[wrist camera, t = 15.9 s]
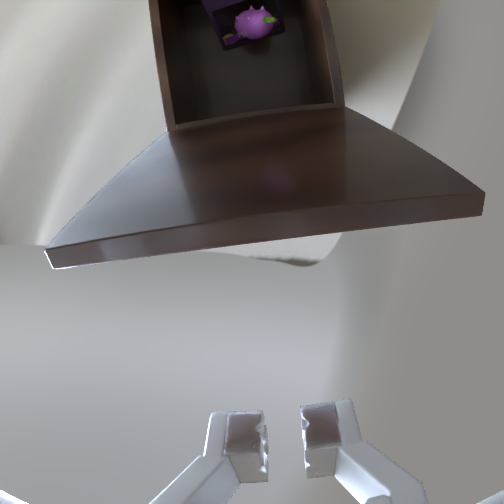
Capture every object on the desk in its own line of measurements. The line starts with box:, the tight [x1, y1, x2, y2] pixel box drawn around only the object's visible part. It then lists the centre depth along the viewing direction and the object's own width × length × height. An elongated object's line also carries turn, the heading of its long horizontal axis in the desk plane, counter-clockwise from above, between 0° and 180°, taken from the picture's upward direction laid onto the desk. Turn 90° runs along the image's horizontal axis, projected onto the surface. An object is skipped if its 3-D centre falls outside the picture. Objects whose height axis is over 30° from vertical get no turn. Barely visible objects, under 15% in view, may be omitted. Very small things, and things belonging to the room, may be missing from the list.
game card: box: [201, 0, 285, 50], centre depth 23 cm, size 7×5×9 cm
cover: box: [44, 107, 485, 269], centre depth 15 cm, size 16×14×1 cm
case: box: [148, 0, 345, 132], centre depth 24 cm, size 16×14×11 cm
